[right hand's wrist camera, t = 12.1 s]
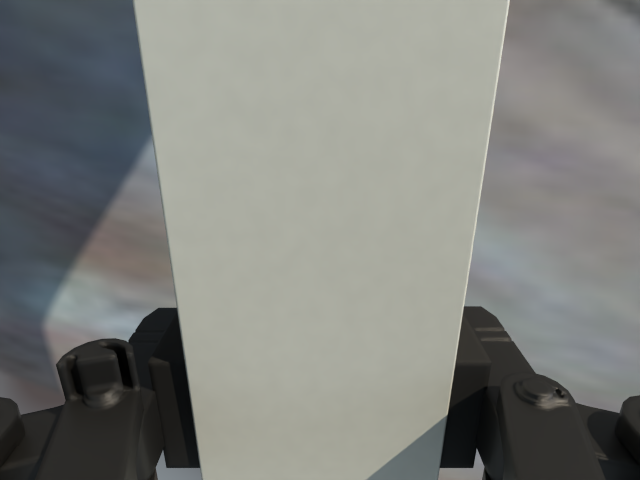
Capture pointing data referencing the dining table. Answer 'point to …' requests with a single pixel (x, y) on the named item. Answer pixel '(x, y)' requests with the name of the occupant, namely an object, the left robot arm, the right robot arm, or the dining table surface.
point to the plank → (320, 221)
